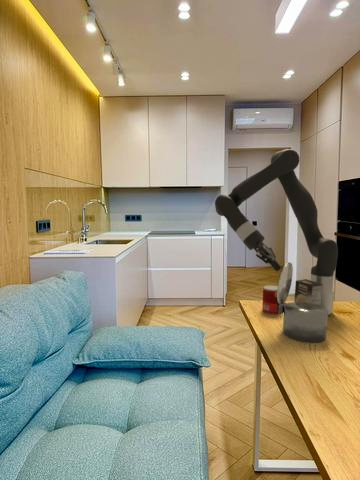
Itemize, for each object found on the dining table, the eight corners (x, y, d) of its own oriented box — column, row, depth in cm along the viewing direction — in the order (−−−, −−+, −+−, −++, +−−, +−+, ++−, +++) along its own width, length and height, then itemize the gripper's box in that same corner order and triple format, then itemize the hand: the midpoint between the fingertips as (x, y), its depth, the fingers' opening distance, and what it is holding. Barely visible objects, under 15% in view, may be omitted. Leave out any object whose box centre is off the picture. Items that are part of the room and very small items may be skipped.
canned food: (281, 315, 142) (282, 290, 141) (262, 313, 143) (263, 289, 142) (279, 309, 149) (281, 286, 148) (261, 308, 151) (262, 284, 150)
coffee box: (292, 316, 140) (294, 280, 138) (303, 314, 143) (305, 278, 141) (309, 324, 132) (311, 285, 130) (320, 321, 135) (323, 283, 133)
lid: (277, 309, 118) (269, 307, 119) (289, 298, 131) (282, 296, 132) (283, 266, 115) (275, 264, 116) (294, 259, 128) (287, 258, 130)
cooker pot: (273, 335, 120) (274, 309, 119) (284, 323, 132) (285, 299, 131) (322, 346, 111) (324, 318, 110) (329, 332, 123) (330, 306, 122)
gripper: (250, 230, 122) (281, 266, 117) (262, 228, 133) (291, 261, 128) (236, 243, 125) (266, 278, 120) (249, 240, 136) (277, 272, 131)
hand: (279, 269), depth 124 cm, fingers closed
